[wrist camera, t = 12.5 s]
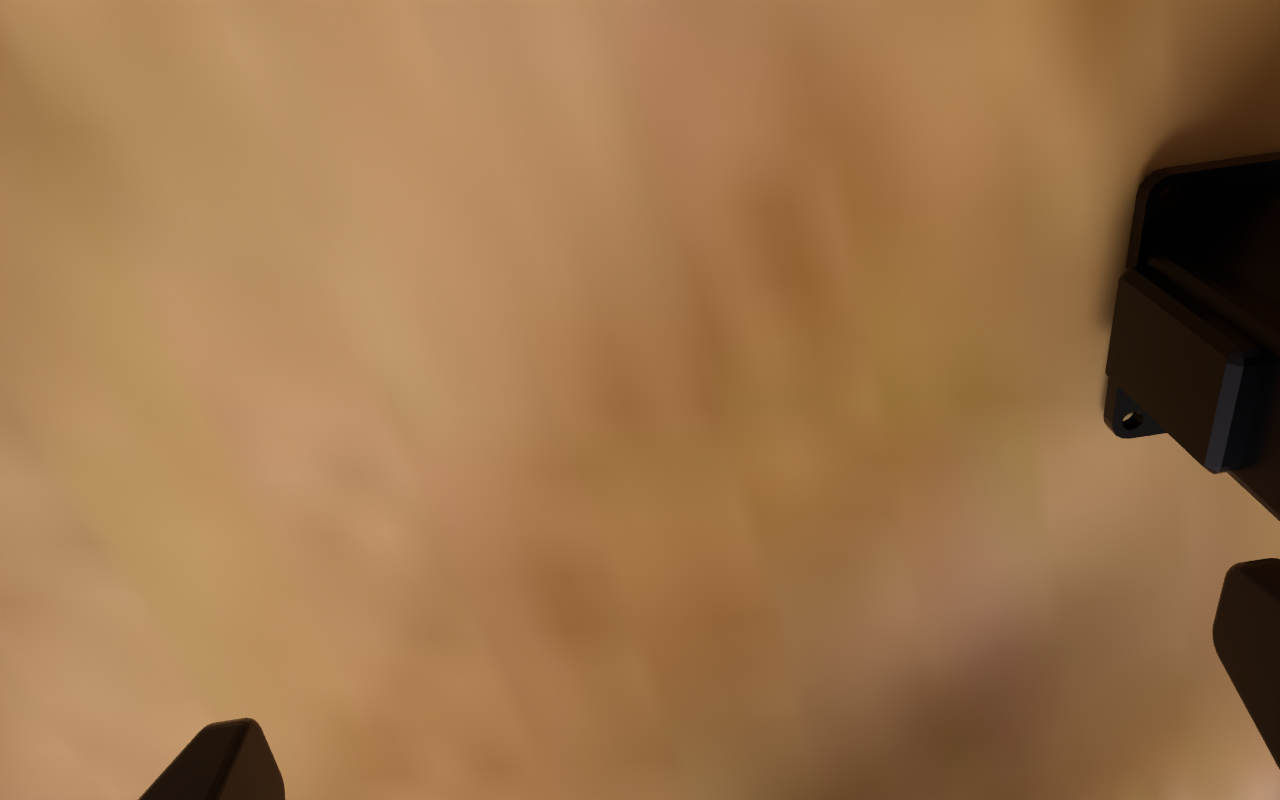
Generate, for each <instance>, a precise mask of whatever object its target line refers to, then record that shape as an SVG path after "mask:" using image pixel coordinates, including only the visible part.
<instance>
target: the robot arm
mask: <svg viewBox="0 0 1280 800" xmlns="http://www.w3.org/2000/svg"><path fill="white" fill-rule="evenodd" d="M1169 186H1171V192H1170V194H1169V196H1168V197H1167V198H1166V199H1165V200H1164V201H1162V202H1159V203H1158V198H1159V195H1160V193H1161V192H1162V191H1163V190H1164V189H1165V188H1167V187H1169ZM1106 374H1107V376H1108V377H1109V382H1108V389H1107V396H1106V402H1105V409H1104V422H1105V424H1106V425H1107V427H1108V428H1109V429H1110V430H1111V431H1112V432H1113V433H1114V434H1115V435H1116V436H1118V437H1120V438H1136V437H1143V436H1150V435H1156V434H1163V433H1168V434H1169V435H1170V436H1171V437H1172V438H1173V439H1175V440H1176V441H1177V442H1178V443H1179V444H1180V445H1181V446H1182V447H1183V448H1184V449H1185V450H1186V451H1187V452H1188V453H1189V454H1190V455H1191V456H1192V457H1193V458H1194V459H1196V460H1197V461H1198V462H1199V463H1200V464H1201V465H1202V466H1203V467H1204V468H1205V469H1207V470H1208V471H1209V472H1211V473H1213V474H1218V473H1225V472H1227V473H1228V474H1229V475H1230V476H1232V477H1233V478H1234V479H1235V480H1236V481H1237V482H1238V483H1239V484H1240V485H1241V486H1242V487H1243V488H1244V489H1246V490H1247V491H1248V492H1249V493H1250V494H1251V495H1252V496H1253V497H1254V498H1255V499H1256V500H1257V501H1259V502H1260V503H1261V504H1262V505H1263V506H1264V507H1265V508H1266V509H1267V510H1268V511H1269V512H1270V513H1271V514H1273V515H1274V516H1275V517H1276V518H1277V519H1278V520H1279V521H1280V152H1276V153H1269V154H1262V155H1255V156H1248V157H1240V158H1233V159H1226V160H1219V161H1212V162H1205V163H1198V164H1190V165H1183V166H1176V167H1169V168H1163V169H1160V170H1157V171H1154V172H1152V173H1151V174H1150V175H1148V176H1147V177H1146V178H1145V179H1144V180H1143V182H1142V183H1141V184H1140V186H1139V189H1138V192H1137V195H1136V202H1135V209H1134V215H1133V222H1132V229H1131V235H1130V242H1129V249H1128V255H1127V262H1126V269H1125V271H1124V272H1123V274H1122V275H1121V277H1120V279H1119V283H1118V290H1117V297H1116V304H1115V310H1114V317H1113V324H1112V331H1111V338H1110V344H1109V351H1108V358H1107V365H1106ZM1131 412H1134V413H1133V415H1132V416H1131V417H1130V418H1129V419H1127V420H1125V421H1123V419H1124V417H1125V416H1126V415H1127V414H1129V413H1131ZM1213 642H1214V646H1215V649H1216V652H1217V654H1218V656H1219V659H1220V660H1221V662H1222V664H1223V666H1224V668H1225V670H1226V671H1227V673H1228V675H1229V677H1230V679H1231V681H1232V683H1233V684H1234V686H1235V688H1236V690H1237V692H1238V694H1239V695H1240V697H1241V699H1242V701H1243V703H1244V705H1245V707H1246V708H1247V710H1248V712H1249V714H1250V716H1251V718H1252V719H1253V721H1254V723H1255V725H1256V727H1257V729H1258V731H1259V732H1260V734H1261V736H1262V738H1263V740H1264V742H1265V743H1266V745H1267V747H1268V749H1269V751H1270V753H1271V755H1272V756H1273V758H1274V760H1275V762H1276V764H1277V766H1278V767H1279V769H1280V559H1277V558H1268V559H1261V560H1255V561H1248V562H1242V563H1237V564H1235V565H1233V566H1232V567H1231V568H1230V569H1229V570H1228V571H1227V573H1226V575H1225V579H1224V583H1223V587H1222V591H1221V595H1220V599H1219V603H1218V607H1217V611H1216V615H1215V619H1214V624H1213ZM138 800H285V789H284V783H283V778H282V776H281V773H280V770H279V768H278V766H277V764H276V761H275V759H274V757H273V754H272V752H271V750H270V747H269V745H268V743H267V740H266V738H265V736H264V733H263V731H262V729H261V727H260V726H259V724H258V723H257V722H256V721H255V720H254V719H252V718H241V719H235V720H229V721H222V722H216V723H212V724H209V725H207V726H206V727H204V728H203V729H202V730H201V731H200V732H199V733H198V734H197V735H196V736H195V737H194V738H193V739H192V740H191V742H190V743H189V744H188V745H187V746H186V747H185V748H184V749H183V750H182V752H181V753H180V754H179V755H178V756H177V757H176V758H175V759H174V760H173V762H172V763H171V764H170V765H169V766H168V767H167V768H166V769H165V770H164V772H163V773H162V774H161V775H160V776H159V777H158V778H157V779H156V780H155V782H154V783H153V784H152V785H151V786H150V787H149V788H148V789H147V790H146V792H145V793H144V794H143V795H142V796H141V797H140V798H139V799H138Z"/></svg>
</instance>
